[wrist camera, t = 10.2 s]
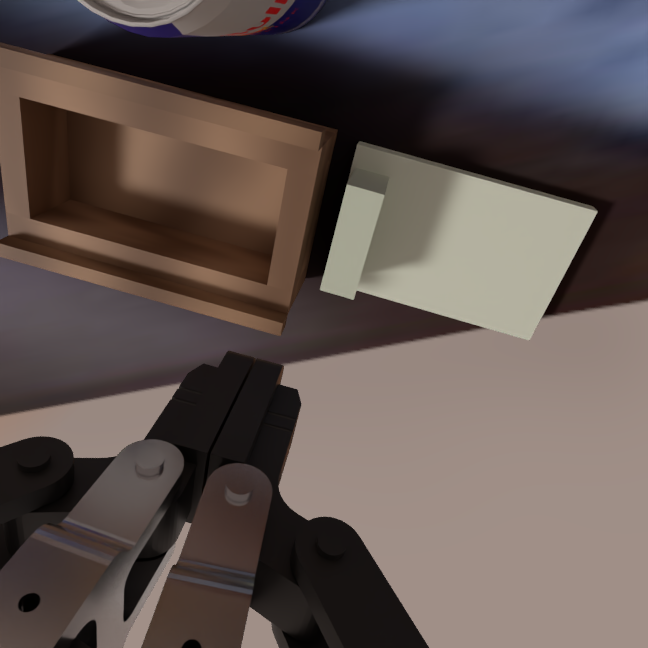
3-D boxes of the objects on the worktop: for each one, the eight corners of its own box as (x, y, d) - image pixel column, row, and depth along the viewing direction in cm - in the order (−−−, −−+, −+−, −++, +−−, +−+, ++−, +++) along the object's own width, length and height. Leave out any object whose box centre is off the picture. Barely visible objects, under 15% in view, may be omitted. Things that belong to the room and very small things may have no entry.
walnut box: (60, 222, 29) (-4, 255, 24) (49, 37, 24) (-31, 39, 20) (302, 290, 28) (280, 336, 24) (341, 114, 23) (321, 132, 19)
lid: (326, 271, 28) (311, 307, 24) (360, 139, 24) (348, 158, 21) (526, 328, 27) (540, 374, 24) (590, 203, 24) (619, 234, 20)
